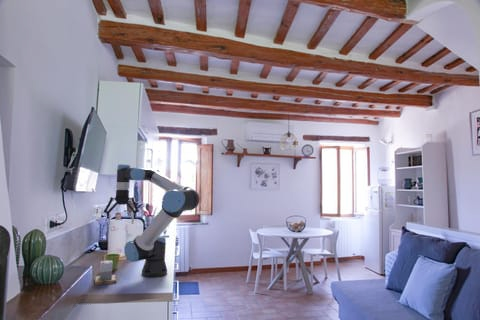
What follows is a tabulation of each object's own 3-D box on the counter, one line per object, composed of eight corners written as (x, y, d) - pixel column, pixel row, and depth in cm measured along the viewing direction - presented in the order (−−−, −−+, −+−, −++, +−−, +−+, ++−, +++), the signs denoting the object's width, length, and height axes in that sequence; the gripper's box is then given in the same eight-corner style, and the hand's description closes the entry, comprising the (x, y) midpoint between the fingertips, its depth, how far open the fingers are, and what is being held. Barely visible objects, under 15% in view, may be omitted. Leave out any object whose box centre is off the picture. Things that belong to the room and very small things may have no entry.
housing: (111, 275, 186) (112, 259, 186) (111, 279, 179) (112, 262, 180) (99, 276, 183) (100, 260, 184) (99, 280, 177) (100, 263, 178)
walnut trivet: (115, 277, 189) (115, 274, 189) (116, 282, 178) (116, 280, 179) (94, 278, 184) (95, 276, 184) (94, 284, 174) (94, 282, 174)
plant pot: (103, 271, 199) (104, 257, 199) (103, 267, 207) (104, 254, 208) (119, 270, 202) (120, 256, 203) (119, 266, 211) (120, 253, 212)
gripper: (142, 189, 208) (140, 222, 206) (100, 189, 197) (98, 224, 195) (144, 189, 201) (142, 224, 200) (101, 189, 190) (99, 225, 188)
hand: (120, 224), depth 197 cm, fingers open, 13 cm apart
